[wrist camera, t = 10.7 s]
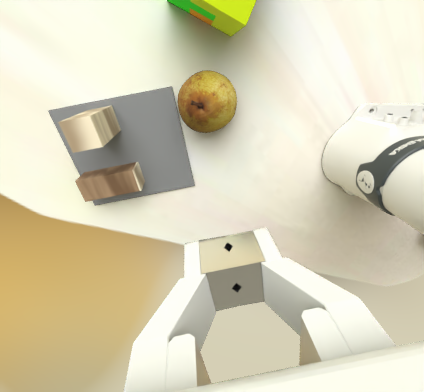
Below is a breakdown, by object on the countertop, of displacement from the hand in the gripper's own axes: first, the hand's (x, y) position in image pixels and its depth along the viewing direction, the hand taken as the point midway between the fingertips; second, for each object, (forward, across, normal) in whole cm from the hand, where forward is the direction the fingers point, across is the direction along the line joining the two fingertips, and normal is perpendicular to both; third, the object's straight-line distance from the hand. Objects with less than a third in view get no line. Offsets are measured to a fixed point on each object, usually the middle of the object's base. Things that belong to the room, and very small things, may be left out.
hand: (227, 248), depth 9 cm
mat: (+35, +13, +5) cm, 38 cm away
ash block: (+35, +15, -1) cm, 38 cm away
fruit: (+35, -2, -1) cm, 35 cm away
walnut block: (+33, +12, +9) cm, 36 cm away
